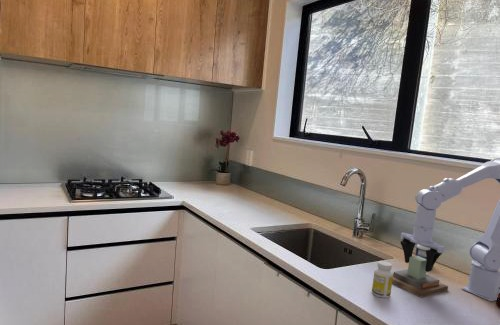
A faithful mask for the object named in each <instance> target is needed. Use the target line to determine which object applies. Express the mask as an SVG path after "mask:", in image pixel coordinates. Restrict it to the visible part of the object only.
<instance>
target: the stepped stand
mask: <svg viewBox="0 0 500 325" xmlns="http://www.w3.org/2000/svg"><path fill="white" fill-rule="evenodd" d="M407 273H408V268H407V269H402V270H398V271H397V270H396V271H393V280H392V285H395V286H397V287H399V288H401V289H403V290H405V291H407V292H408V293H411V294H413V295H415V296H418V297H420V298H423V297H428V296H431V295H436V294H439V293H443V292H447V291H449V285H446V284H444V283H442V282H440V279H438V278H435V277H433V276H431V275H429V274H427V273H426V278H421V279H416V278H414V277H412V276H410V275H407Z"/></svg>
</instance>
